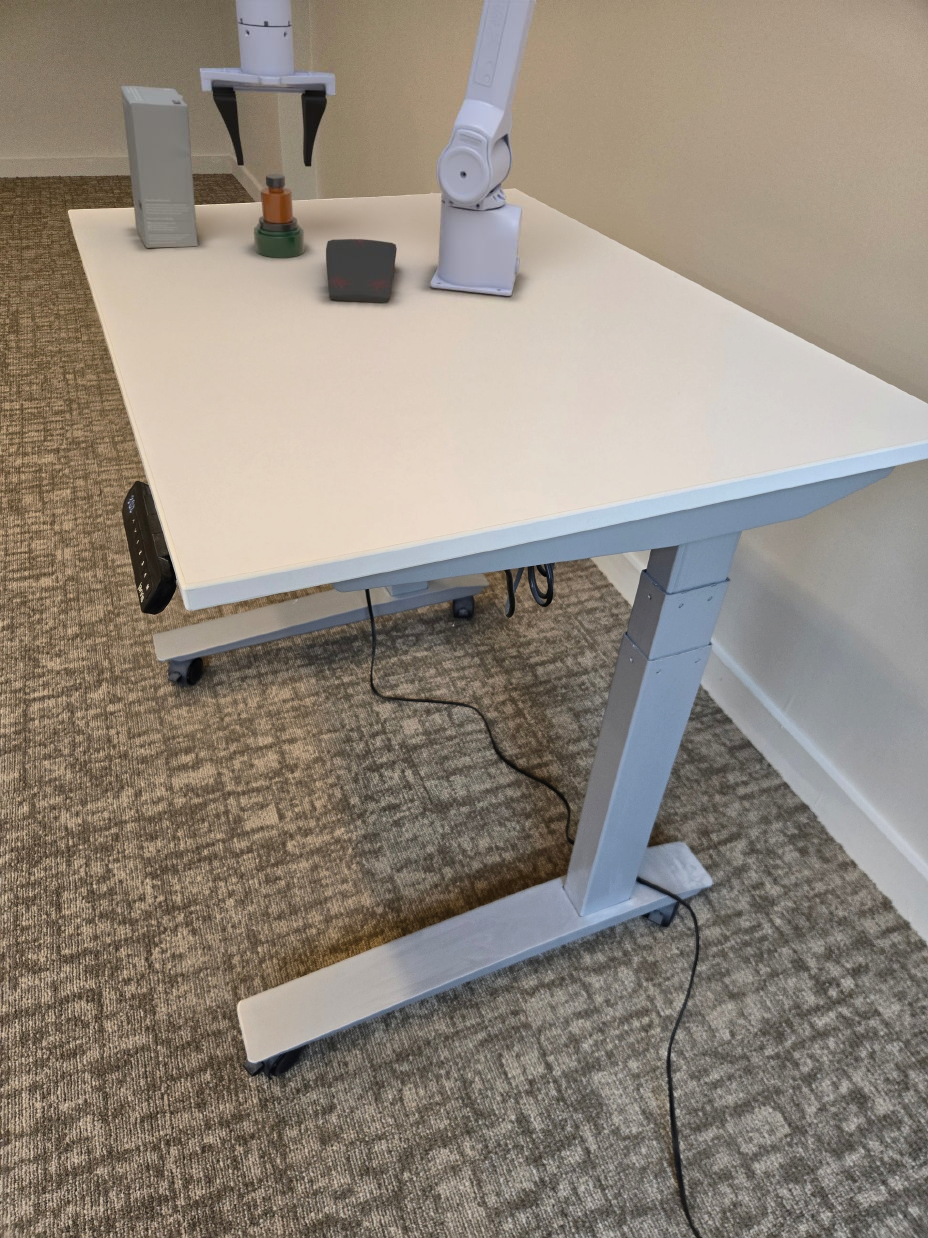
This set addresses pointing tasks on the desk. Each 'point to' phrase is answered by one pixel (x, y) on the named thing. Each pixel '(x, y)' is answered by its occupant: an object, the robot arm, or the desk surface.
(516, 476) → the desk surface
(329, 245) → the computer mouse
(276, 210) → the amber bottle
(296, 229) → the green jar with lid
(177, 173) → the cosmetic box
